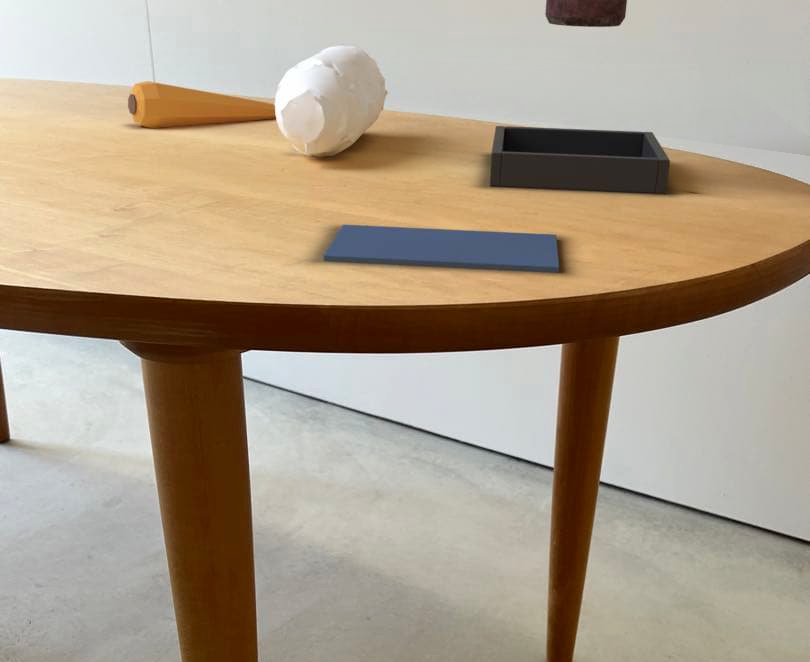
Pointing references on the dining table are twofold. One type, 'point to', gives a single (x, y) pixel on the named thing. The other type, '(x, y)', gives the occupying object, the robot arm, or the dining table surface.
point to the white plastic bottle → (329, 100)
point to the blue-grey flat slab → (445, 248)
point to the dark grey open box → (578, 160)
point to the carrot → (190, 106)
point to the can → (586, 12)
